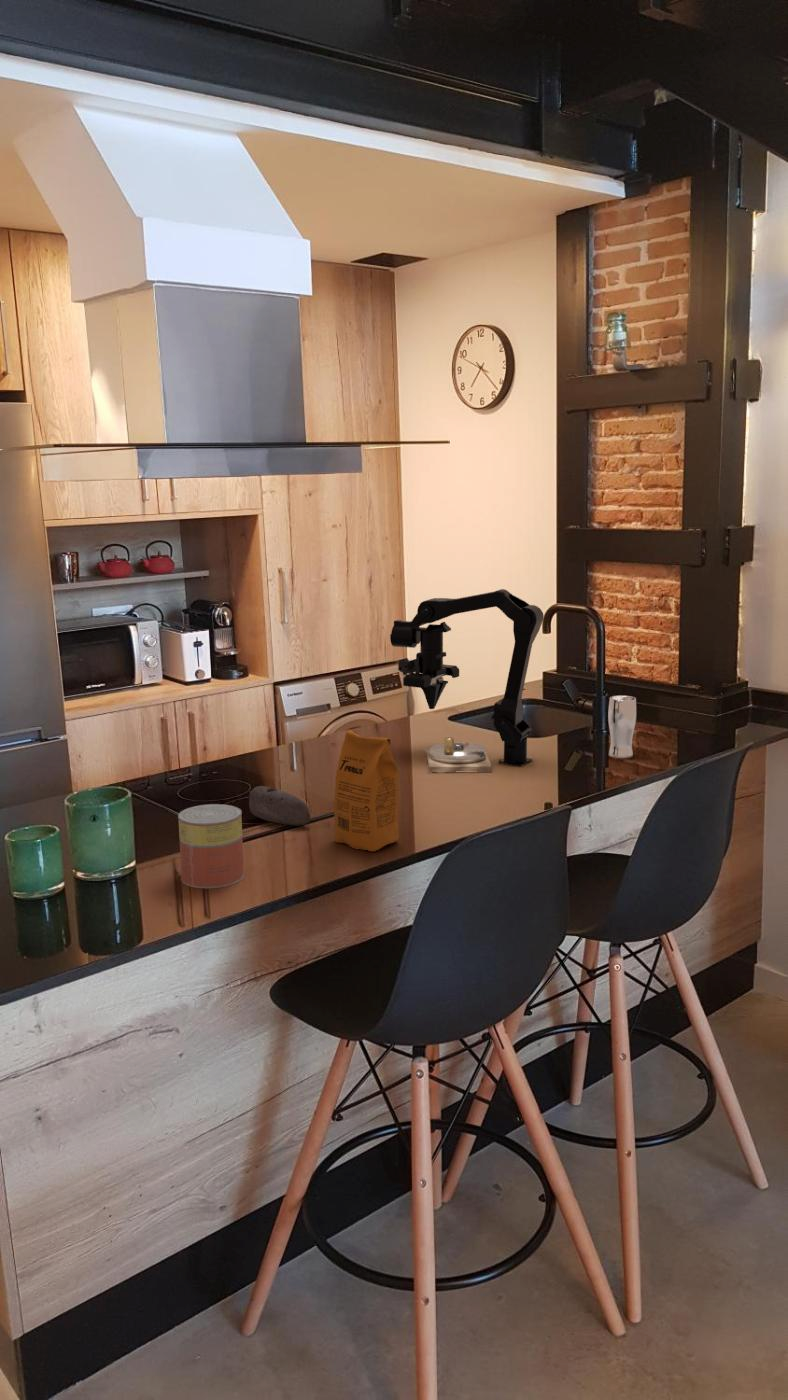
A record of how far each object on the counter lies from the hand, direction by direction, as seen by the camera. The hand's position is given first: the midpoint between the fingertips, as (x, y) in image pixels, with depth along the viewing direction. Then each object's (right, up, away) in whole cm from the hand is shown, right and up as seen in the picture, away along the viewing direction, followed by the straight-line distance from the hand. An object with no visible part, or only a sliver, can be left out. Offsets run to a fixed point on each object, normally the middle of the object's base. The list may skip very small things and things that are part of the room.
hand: (431, 708), depth 277 cm
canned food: (-42, -30, -81) cm, 96 cm away
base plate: (+6, -13, -6) cm, 16 cm away
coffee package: (-15, -26, -64) cm, 70 cm away
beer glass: (+48, -12, 0) cm, 50 cm away
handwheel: (+6, -12, -6) cm, 15 cm away
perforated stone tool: (-33, -24, -51) cm, 65 cm away
